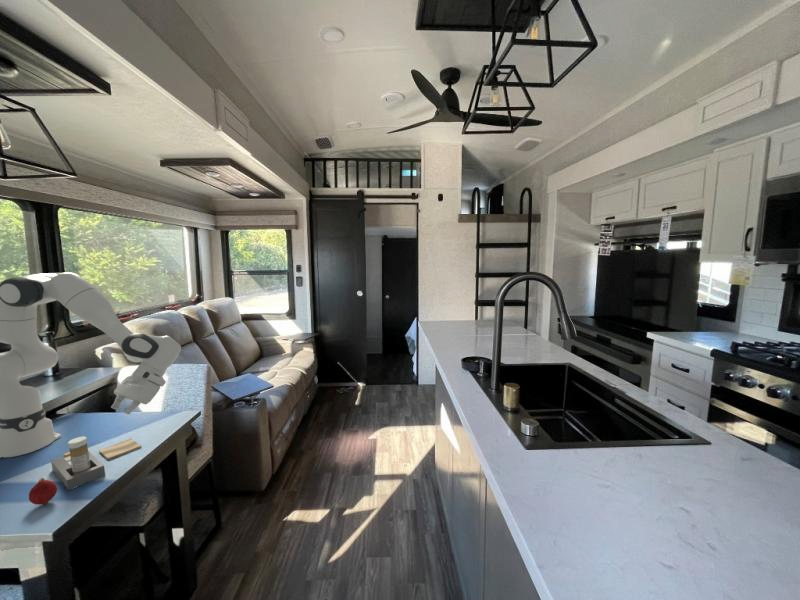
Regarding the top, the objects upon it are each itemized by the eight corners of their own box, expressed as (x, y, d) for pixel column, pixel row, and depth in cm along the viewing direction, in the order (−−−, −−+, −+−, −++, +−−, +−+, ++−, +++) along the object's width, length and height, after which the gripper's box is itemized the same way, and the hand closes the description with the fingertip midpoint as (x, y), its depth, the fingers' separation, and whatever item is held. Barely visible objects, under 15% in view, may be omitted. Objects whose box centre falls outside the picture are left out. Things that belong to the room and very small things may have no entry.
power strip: (48, 464, 119) (46, 453, 119) (81, 452, 127) (80, 441, 126) (68, 490, 105) (66, 478, 104) (105, 475, 112) (103, 463, 112)
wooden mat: (99, 452, 126) (98, 450, 126) (131, 440, 134) (131, 438, 134) (108, 460, 121) (108, 458, 121) (141, 447, 129) (141, 445, 129)
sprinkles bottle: (79, 474, 113) (73, 437, 111) (95, 472, 114) (90, 435, 112) (69, 483, 109) (63, 444, 107) (86, 480, 110) (80, 442, 108)
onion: (59, 503, 99) (55, 478, 98) (30, 514, 95) (26, 488, 94) (58, 494, 103) (54, 470, 102) (30, 504, 99) (26, 479, 98)
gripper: (126, 369, 130) (98, 402, 122) (153, 375, 120) (124, 412, 113) (141, 376, 134) (114, 409, 127) (168, 383, 124) (141, 419, 117)
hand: (119, 411), depth 120 cm, fingers open, 8 cm apart
